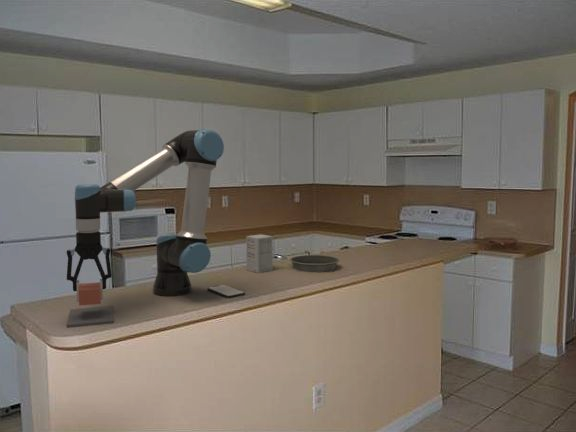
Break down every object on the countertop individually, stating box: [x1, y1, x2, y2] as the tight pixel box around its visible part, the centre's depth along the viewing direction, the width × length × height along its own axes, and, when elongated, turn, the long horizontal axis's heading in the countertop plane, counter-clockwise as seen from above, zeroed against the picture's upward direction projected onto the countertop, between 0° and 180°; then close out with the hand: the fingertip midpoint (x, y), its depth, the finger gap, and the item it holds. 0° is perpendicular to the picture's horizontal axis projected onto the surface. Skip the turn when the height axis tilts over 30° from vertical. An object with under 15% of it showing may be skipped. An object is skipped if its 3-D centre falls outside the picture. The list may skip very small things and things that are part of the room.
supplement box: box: [245, 233, 273, 274], centre depth 245 cm, size 10×9×17 cm
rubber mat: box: [66, 305, 115, 328], centre depth 170 cm, size 14×18×1 cm
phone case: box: [206, 284, 246, 299], centre depth 203 cm, size 9×2×16 cm
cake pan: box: [289, 254, 340, 273], centre depth 253 cm, size 25×25×4 cm
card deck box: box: [78, 281, 102, 306], centre depth 169 cm, size 10×6×5 cm, turn 21°
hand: (90, 299), depth 169 cm, fingers closed on card deck box, 6 cm apart
